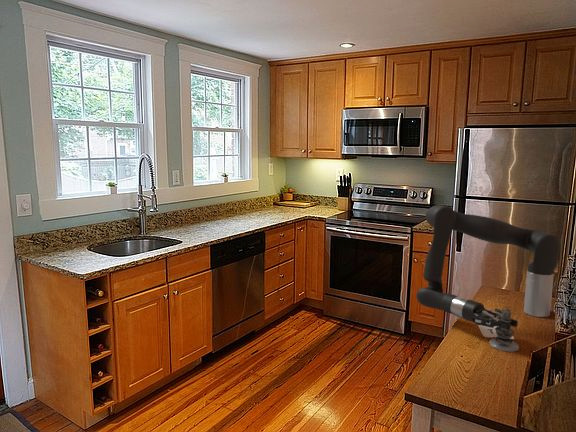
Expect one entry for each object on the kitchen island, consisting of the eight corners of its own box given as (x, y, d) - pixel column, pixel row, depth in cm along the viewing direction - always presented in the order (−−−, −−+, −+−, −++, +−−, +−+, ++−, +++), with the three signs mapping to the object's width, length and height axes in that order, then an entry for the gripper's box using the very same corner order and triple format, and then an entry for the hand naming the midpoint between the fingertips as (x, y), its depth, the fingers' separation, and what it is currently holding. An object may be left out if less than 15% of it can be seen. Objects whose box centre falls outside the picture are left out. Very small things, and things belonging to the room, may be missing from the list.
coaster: (486, 338, 153) (486, 337, 153) (514, 340, 151) (514, 339, 151) (493, 350, 144) (493, 348, 144) (522, 352, 143) (522, 351, 142)
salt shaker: (515, 345, 144) (519, 310, 142) (496, 343, 145) (499, 309, 143) (510, 337, 150) (513, 304, 148) (492, 335, 151) (495, 302, 149)
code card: (477, 325, 164) (477, 325, 164) (506, 327, 162) (506, 327, 162) (484, 336, 155) (484, 336, 155) (514, 339, 153) (514, 338, 153)
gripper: (456, 303, 153) (503, 319, 139) (479, 295, 161) (526, 310, 147) (454, 323, 155) (501, 341, 141) (477, 314, 163) (523, 331, 149)
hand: (513, 325), depth 144 cm, fingers closed on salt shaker, 3 cm apart
